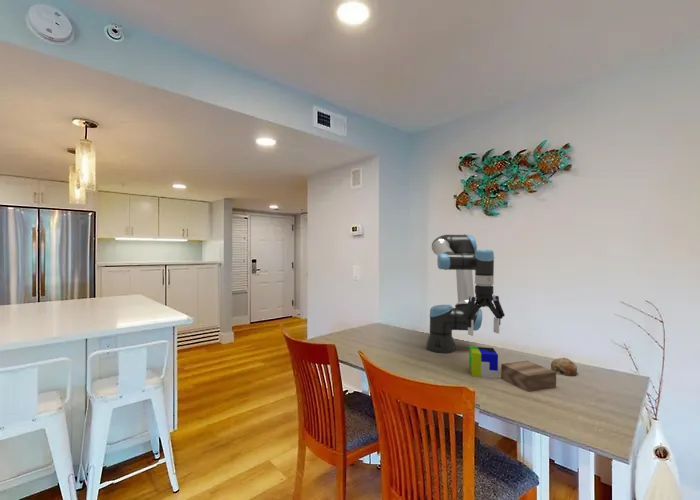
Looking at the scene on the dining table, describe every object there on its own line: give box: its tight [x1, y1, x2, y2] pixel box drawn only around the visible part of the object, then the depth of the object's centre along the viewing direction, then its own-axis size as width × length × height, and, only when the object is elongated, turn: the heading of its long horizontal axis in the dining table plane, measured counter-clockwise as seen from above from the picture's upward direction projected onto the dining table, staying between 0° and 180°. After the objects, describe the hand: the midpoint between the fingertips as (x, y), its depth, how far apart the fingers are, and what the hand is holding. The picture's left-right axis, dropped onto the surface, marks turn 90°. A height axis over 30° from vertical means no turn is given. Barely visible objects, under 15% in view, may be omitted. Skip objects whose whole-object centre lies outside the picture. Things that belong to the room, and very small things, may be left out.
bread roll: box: [550, 357, 578, 377], centre depth 151 cm, size 10×10×8 cm
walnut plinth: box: [500, 360, 557, 392], centre depth 139 cm, size 14×14×6 cm
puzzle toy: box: [468, 346, 499, 379], centre depth 149 cm, size 10×10×10 cm
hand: (483, 333), depth 148 cm, fingers open, 13 cm apart
